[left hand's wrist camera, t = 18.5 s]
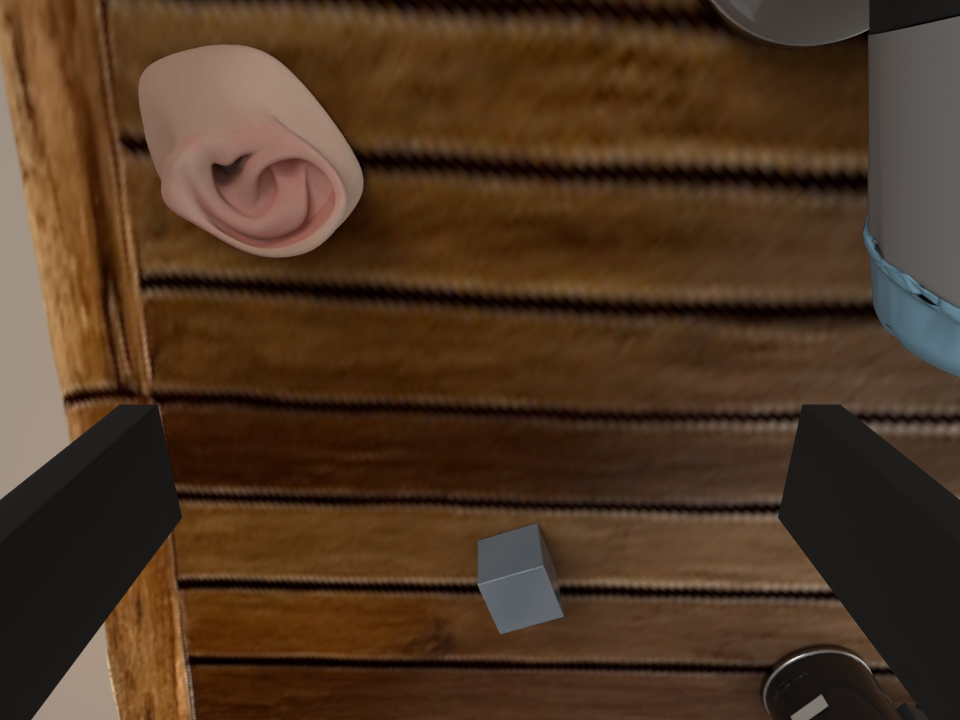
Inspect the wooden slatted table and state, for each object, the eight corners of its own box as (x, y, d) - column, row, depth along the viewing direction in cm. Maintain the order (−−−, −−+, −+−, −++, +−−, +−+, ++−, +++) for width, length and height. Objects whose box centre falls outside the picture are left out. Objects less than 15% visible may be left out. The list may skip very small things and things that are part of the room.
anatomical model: (62, 92, 33) (239, -22, 31) (104, 94, 36) (265, -7, 34) (211, 305, 37) (374, 217, 35) (235, 288, 41) (384, 208, 39)
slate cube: (537, 522, 48) (543, 565, 43) (556, 570, 50) (564, 617, 45) (477, 540, 48) (477, 585, 44) (498, 587, 50) (500, 634, 46)
